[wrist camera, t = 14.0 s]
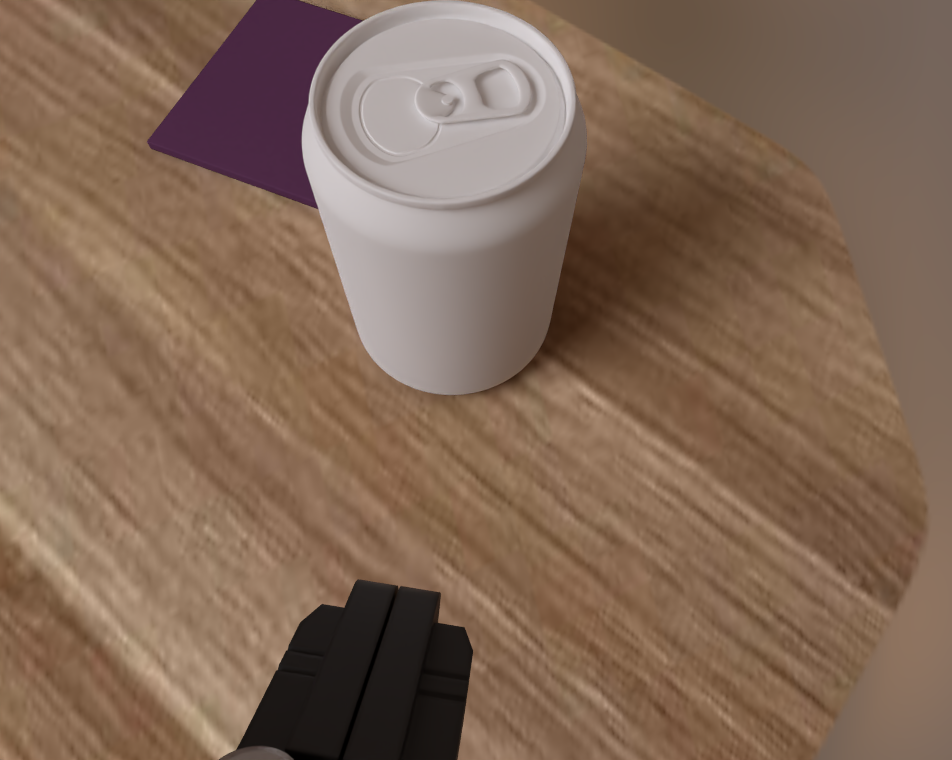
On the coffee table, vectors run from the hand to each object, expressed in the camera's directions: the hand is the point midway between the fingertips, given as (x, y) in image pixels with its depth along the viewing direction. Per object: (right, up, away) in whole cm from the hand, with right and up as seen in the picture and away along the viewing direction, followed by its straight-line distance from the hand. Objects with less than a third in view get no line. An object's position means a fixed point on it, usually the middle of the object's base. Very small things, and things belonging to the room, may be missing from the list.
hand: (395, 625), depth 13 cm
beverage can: (0, +7, +17) cm, 19 cm away
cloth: (-6, +18, +22) cm, 29 cm away
